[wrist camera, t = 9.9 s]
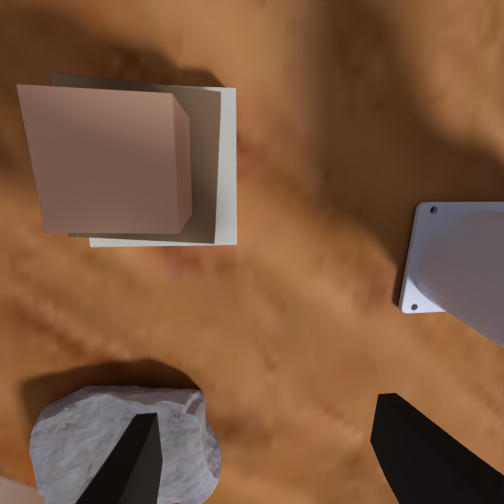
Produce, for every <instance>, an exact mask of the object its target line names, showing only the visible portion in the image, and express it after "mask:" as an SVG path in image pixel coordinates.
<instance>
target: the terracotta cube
mask: <svg viewBox="0 0 504 504" xmlns="http://www.w3.org/2000/svg"><path fill="white" fill-rule="evenodd" d="M16 86H17V91H18V96H19V101H20V106H21V111H22V117H23V122H24V127H25V132H26V137H27V142H28V147H29V152H30V158H31V163H32V168H33V173H34V178H35V183H36V188H37V193H38V199H39V204H40V209H41V214H42V219H43V224H44V229H45V233H150V234H179V233H180V231H181V230H182V228H183V227H184V225H185V224H186V222H187V221H188V219H189V218H190V216H191V215H192V189H191V159H190V128H189V117H188V115H187V114H186V112H185V111H184V110H183V108H182V107H181V105H180V104H179V102H178V101H177V100H176V98H175V97H174V95H173V94H172V93H157V92H140V91H123V90H105V89H88V88H71V87H54V86H37V85H20V84H16Z"/></svg>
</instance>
